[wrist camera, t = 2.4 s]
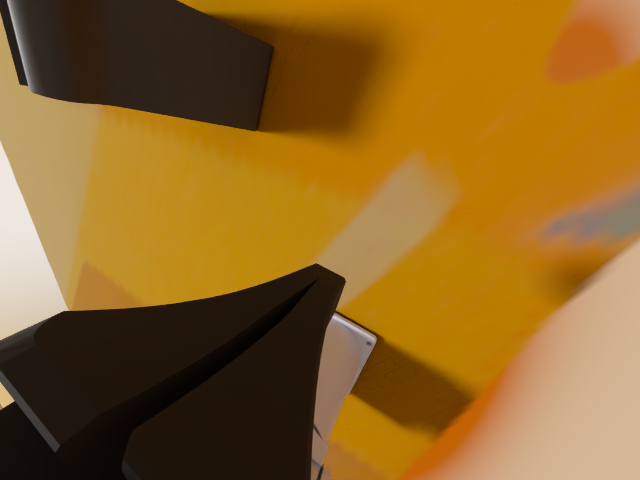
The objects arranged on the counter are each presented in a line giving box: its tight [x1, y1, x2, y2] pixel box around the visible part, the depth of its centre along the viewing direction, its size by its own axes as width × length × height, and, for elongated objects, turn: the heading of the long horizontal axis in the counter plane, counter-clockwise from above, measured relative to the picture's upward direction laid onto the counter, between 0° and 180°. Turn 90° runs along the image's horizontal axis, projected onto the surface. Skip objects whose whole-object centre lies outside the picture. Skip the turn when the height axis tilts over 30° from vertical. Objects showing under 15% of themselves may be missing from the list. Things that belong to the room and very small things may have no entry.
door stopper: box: [0, 0, 273, 131], centre depth 15 cm, size 9×6×12 cm, turn 68°
